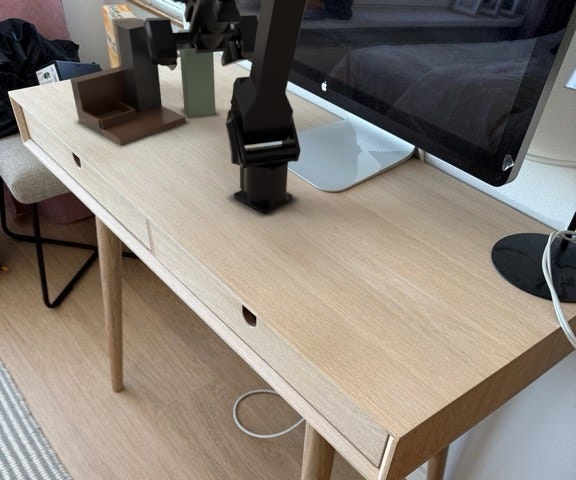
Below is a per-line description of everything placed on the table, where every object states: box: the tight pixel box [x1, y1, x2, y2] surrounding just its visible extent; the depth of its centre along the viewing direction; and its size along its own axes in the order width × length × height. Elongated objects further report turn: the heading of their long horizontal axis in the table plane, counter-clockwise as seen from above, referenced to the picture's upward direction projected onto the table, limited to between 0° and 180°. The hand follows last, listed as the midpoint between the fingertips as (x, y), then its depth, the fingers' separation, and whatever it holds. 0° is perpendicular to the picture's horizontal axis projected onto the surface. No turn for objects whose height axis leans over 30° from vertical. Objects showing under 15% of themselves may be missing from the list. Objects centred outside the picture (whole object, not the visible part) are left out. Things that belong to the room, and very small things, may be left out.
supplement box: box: [101, 4, 139, 69], centre depth 106 cm, size 8×5×13 cm, turn 25°
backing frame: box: [69, 18, 187, 146], centre depth 95 cm, size 12×14×14 cm
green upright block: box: [177, 28, 216, 118], centre depth 100 cm, size 4×5×13 cm
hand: (197, 65), depth 99 cm, fingers open, 9 cm apart
